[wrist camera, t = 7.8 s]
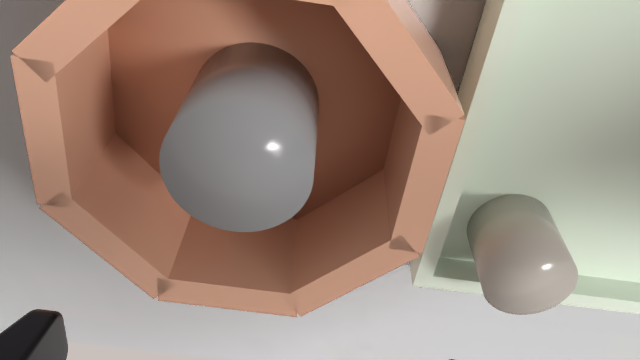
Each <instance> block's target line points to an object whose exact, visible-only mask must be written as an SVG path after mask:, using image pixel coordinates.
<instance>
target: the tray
mask: <svg viewBox="0 0 640 360" xmlns="http://www.w3.org/2000/svg"><path fill="white" fill-rule="evenodd" d="M457 96H458V98H459V101H460V103H461V106H462V109H463V111H464V114H465V115H464V118H465V122H464V125H463V128H462V132H461V135H460V138H459V141H458V144H457V147H456V150H455V153H454V157H453V160H452V163H451V166H450V169H449V172H448V175H447V178H446V182H445V185H444V188H443V191H442V194H441V197H440V200H439V203H438V207H437V210H436V213H435V216H434V219H433V222H432V225H431V228H430V232H429V235H428V238H427V241H426V244H425V247H424V250H423V253H419V255H420V257H418V258H416V259H414V260H412V261H410V262H409V264H410V271H411V278H412V285H413V286H416V287H424V288H433V289H441V290H449V291H457V292H465V293H473V294H481V295H484V294H483V291H482V287H481V284H480V280H479V277H478V273H477V270H476V266H475V263H474V259H473V256H472V252H471V249H470V245H469V241H468V238H467V225H468V222H469V220H470V218H471V216H472V214H473V213H474V212H475V211H476V210H477V209H478V208H479V207H480V206H481V205H483V204H484V203H486V202H487V201H489V200H491V199H494V198H496V197H499V196H503V195H509V194H522V195H527V196H531V197H533V198H536V199H538V200H539V201H541V202H542V203H543V204H544V205H545V206H546V207H547V209H548V210H549V212H550V214H551V216H552V218H553V220H554V222H555V224H556V226H557V228H558V230H559V232H560V234H561V236H562V238H563V240H564V242H565V244H566V246H567V248H568V250H569V252H570V254H571V256H572V258H573V261H574V263H575V265H576V267H577V270H578V280H577V284H576V286H575V288H574V290H573V291H572V293H571V294H570V295H569V296H568V297H567V298H566V299H565V300H564V301H562V302H561V303H560V304H561V305H569V306H577V307H585V308H593V309H601V310H609V311H617V312H625V313H634V314H640V0H486V3H485V6H484V9H483V13H482V16H481V19H480V23H479V26H478V29H477V32H476V36H475V39H474V42H473V46H472V49H471V52H470V56H469V59H468V62H467V65H466V69H465V72H464V75H463V79H462V82H461V85H460V89H459V92H458V95H457Z"/></svg>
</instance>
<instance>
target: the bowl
mask: <svg viewBox="0 0 640 360" xmlns="http://www.w3.org/2000/svg"><path fill="white" fill-rule="evenodd" d="M246 42H256V43H264V44H269V45H272V46H275V47H278V48H280V49H282V50H284V51H286V52H288V53H289V54H291V55H293V56H294V57H295V58H296V59H298V60H299V61H300V62H301V63H302V64H303V65H304V66H305V67H306V69H307V70H308V71H309V73H310V74H311V76H312V78H313V80H314V82H315V85H316V87H317V91H318V95H319V115H318V128H317V141H316V155H315V168H314V180H313V186H312V190H311V193H310V195H309V197H308V199H307V201H306V202H305V204H304V206H303V207H302V208H301V209H300V210H299V211H298V212H297V213H296V214H295V215H294V216H293V217H292V218H290V219H289V220H287V221H286V222H284V223H282V224H280V225H278V226H275V227H273V228H270V229H266V230H262V231H255V232H234V231H228V230H223V229H219V228H215V227H213V226H210V225H208V224H205V223H203V222H201V221H199V220H197V219H196V218H194V217H193V216H191V215H190V214H188V213H187V212H186V211H185V210H184V209H182V208H181V207H180V206H179V205H178V204H177V203H176V202H175V200H174V199H173V198H172V196H171V195H170V193H169V192H168V190H167V188H166V186H165V184H164V182H163V179H162V176H161V172H160V164H159V158H160V150H161V146H162V143H163V140H164V138H165V136H166V134H167V132H168V130H169V128H170V126H171V124H172V122H173V120H174V118H175V117H176V115H177V113H178V111H179V109H180V107H181V105H182V103H183V101H184V99H185V97H186V95H187V93H188V91H189V90H190V88H191V86H192V84H193V82H194V80H195V78H196V76H197V74H198V72H199V71H200V69H201V67H202V66H203V64H204V63H205V62H206V61H207V60H208V59H209V58H210V57H211V56H212V55H213V54H215V53H216V52H218V51H219V50H221V49H223V48H225V47H228V46H231V45H234V44H239V43H246ZM12 52H13V53H14V54H12V55H11V56H10V58H11V63H12V69H13V74H14V80H15V85H16V91H17V97H18V102H19V108H20V113H21V119H22V125H23V130H24V136H25V141H26V147H27V152H28V158H29V164H30V169H31V175H32V180H33V186H34V191H35V197H36V203H37V204H42V205H41V206H40V209H41V210H42V211H44V212H45V213H46V214H47V215H49V216H50V217H51V218H52V219H54V220H55V221H56V222H57V223H59V224H60V225H61V226H63V227H64V228H65V229H66V230H68V231H69V232H70V233H71V234H73V235H74V236H75V237H76V238H78V239H79V240H80V241H81V242H83V243H84V244H85V245H86V246H88V247H89V248H90V249H91V250H93V251H94V252H95V253H96V254H98V255H99V256H100V257H101V258H103V259H104V260H105V261H107V262H108V263H109V264H110V265H112V266H113V267H114V268H115V269H117V270H118V271H119V272H120V273H122V274H123V275H124V276H125V277H127V278H128V279H129V280H130V281H132V282H133V283H134V284H135V285H137V286H138V287H139V288H140V289H142V290H143V291H144V292H146V293H147V294H148V295H149V296H151V297H152V298H153V299H154V298H156V297H157V296H158V301H166V302H175V303H183V304H191V305H199V306H208V307H216V308H224V309H233V310H241V311H249V312H258V313H266V314H274V315H283V316H291V317H297V313H298V314H299V315H300V316H303V315H305V314H307V313H309V312H311V311H313V310H315V309H317V308H319V307H321V306H323V305H325V304H327V303H329V302H331V301H333V300H335V299H337V298H339V297H341V296H343V295H345V294H347V293H348V292H350V291H352V290H354V289H356V288H358V287H360V286H362V285H364V284H366V283H368V282H370V281H372V280H374V279H376V278H378V277H380V276H382V275H384V274H386V273H388V272H390V271H392V270H394V269H396V268H398V267H400V266H402V265H404V264H406V263H408V262H410V261H412V260H414V259H416V258H418V257H420V255H419V253H423V250H424V247H425V244H426V241H427V238H428V235H429V232H430V228H431V225H432V222H433V219H434V216H435V213H436V210H437V207H438V203H439V200H440V197H441V194H442V191H443V188H444V185H445V182H446V178H447V175H448V172H449V169H450V166H451V163H452V160H453V157H454V153H455V150H456V147H457V144H458V141H459V138H460V135H461V132H462V128H463V125H464V122H465V118H464V115H465V114H464V111H463V109H462V106H461V103H460V101H459V98H458V96H457V93H456V90H455V88H454V85H453V83H452V80H451V77H450V75H449V72H448V69H447V67H446V64H445V62H444V59H443V56H442V54H441V51H440V49H439V47H438V46H437V44H436V43H435V41H434V40H433V38H432V37H431V35H430V34H429V32H428V31H427V29H426V28H425V26H424V25H423V23H422V22H421V20H420V19H419V17H418V16H417V14H416V13H415V11H414V10H413V8H412V7H411V5H410V4H409V2H408V1H407V0H65V1H64V2H63V3H62V4H61V5H60V6H59V7H58V8H57V9H55V10H54V11H53V12H52V13H51V14H50V15H49V16H48V17H47V18H46V19H45V20H44V21H43V22H42V23H41V24H40V25H38V26H37V27H36V28H35V29H34V30H33V31H32V32H31V33H30V34H29V35H28V36H27V37H26V38H25V39H24V40H23V41H21V42H20V43H19V44H18V45H17V46H16V47H15V48H14V49H13V50H12Z"/></svg>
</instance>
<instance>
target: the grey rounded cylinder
mask: <svg viewBox="0 0 640 360" xmlns="http://www.w3.org/2000/svg"><path fill="white" fill-rule="evenodd" d="M318 115H319V95H318V91H317V87H316V85H315V82H314V80H313V78H312V76H311V74H310V73H309V71H308V70H307V69H306V67H305V66H304V65H303V64H302V63H301V62H300V61H299V60H298V59H296V58H295V57H294V56H293V55H291V54H289V53H288V52H286V51H284V50H282V49H280V48H278V47H275V46H272V45H269V44H264V43H256V42H246V43H239V44H234V45H231V46H228V47H225V48H223V49H221V50H219V51H218V52H216V53H215V54H213V55H212V56H211V57H210V58H209V59H208V60H207V61H206V62H205V63H204V64H203V66H202V67H201V69H200V71H199V72H198V74H197V76H196V78H195V80H194V82H193V84H192V86H191V88H190V90H189V91H188V93H187V95H186V97H185V99H184V101H183V103H182V105H181V107H180V109H179V111H178V113H177V115H176V117H175V118H174V120H173V122H172V124H171V126H170V128H169V130H168V132H167V134H166V136H165V138H164V140H163V143H162V146H161V150H160V158H159V164H160V172H161V176H162V179H163V182H164V184H165V186H166V188H167V190H168V192H169V193H170V195H171V196H172V198H173V199H174V200H175V202H176V203H177V204H178V205H179V206H180V207H181V208H182V209H184V210H185V211H186V212H187V213H188V214H190V215H191V216H193V217H194V218H196V219H197V220H199V221H201V222H203V223H205V224H208V225H210V226H213V227H215V228H219V229H223V230H228V231H234V232H255V231H262V230H266V229H270V228H273V227H275V226H278V225H280V224H282V223H284V222H286V221H287V220H289V219H290V218H292V217H293V216H294V215H295V214H296V213H297V212H298V211H299V210H300V209H301V208H302V207H303V206H304V204H305V202H306V201H307V199H308V197H309V195H310V193H311V190H312V186H313V180H314V168H315V155H316V141H317V128H318Z"/></svg>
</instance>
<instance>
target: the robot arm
mask: <svg viewBox="0 0 640 360" xmlns="http://www.w3.org/2000/svg"><path fill="white" fill-rule="evenodd" d="M67 353H68V343H67V337H66V332H65V326H64V321H63V317H62V315H61V314H60V313H59V312H57V311H49V310H41V309H36V310H32V311H30V312H29V313H27V314H26V315H24V316H23V317H22V318H20V319H19V320H18V321H16V322H15V323H14V324H12V325H11V326H10V327H8V328H7V329H6V330H4V331H3V332H2V333H0V360H66V358H67ZM450 360H453V359H450Z"/></svg>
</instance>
